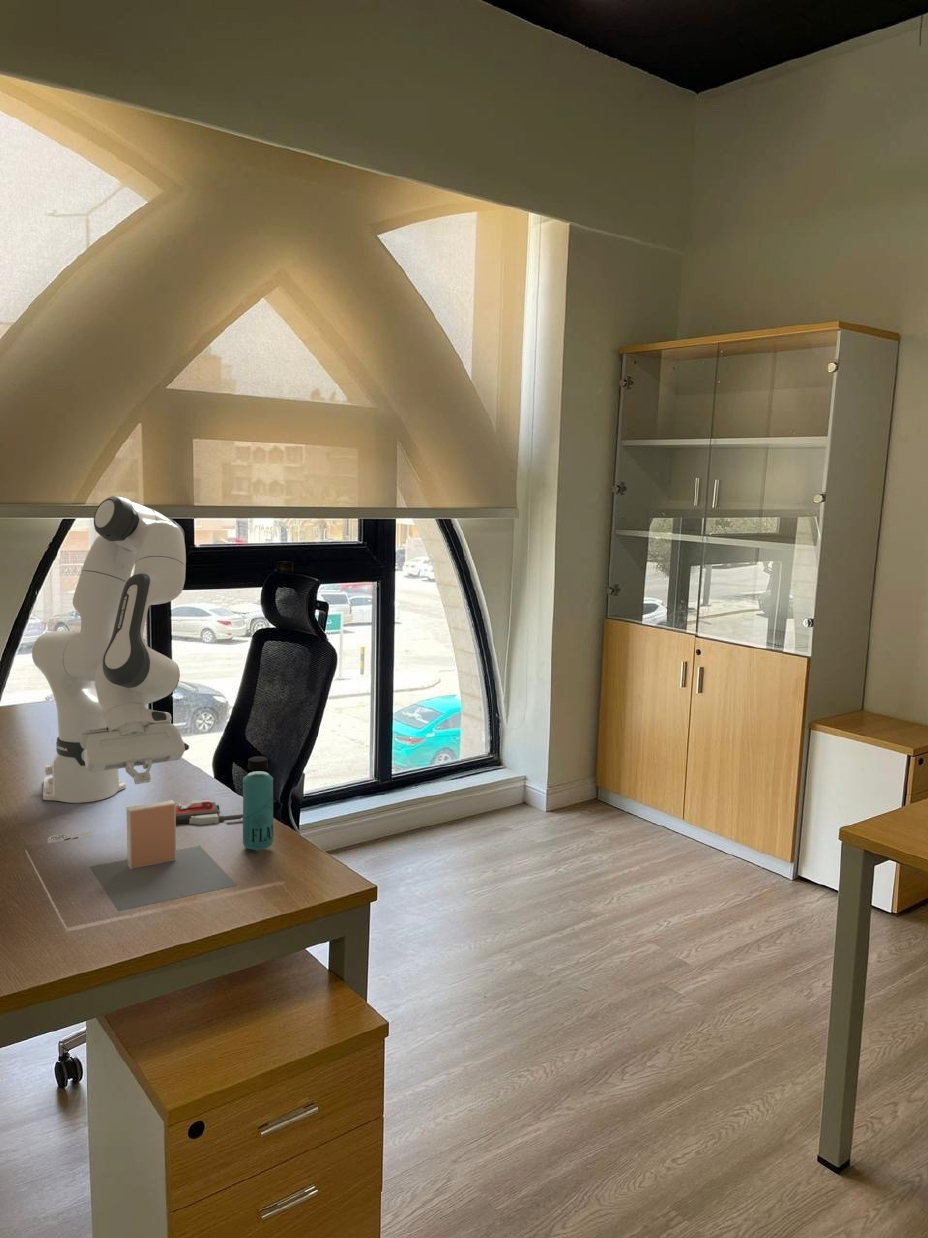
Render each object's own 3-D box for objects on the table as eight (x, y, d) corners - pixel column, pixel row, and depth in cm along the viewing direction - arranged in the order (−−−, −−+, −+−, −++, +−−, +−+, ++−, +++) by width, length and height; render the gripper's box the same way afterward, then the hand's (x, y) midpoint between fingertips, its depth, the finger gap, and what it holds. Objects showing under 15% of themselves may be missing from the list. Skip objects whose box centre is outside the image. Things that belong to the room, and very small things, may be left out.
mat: (89, 868, 190) (89, 866, 190) (199, 848, 202) (199, 845, 202) (118, 913, 172) (118, 911, 172) (237, 887, 184) (237, 885, 184)
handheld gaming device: (92, 830, 209) (93, 857, 195) (92, 833, 209) (93, 860, 195) (47, 834, 206) (45, 862, 192) (47, 838, 206) (45, 865, 192)
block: (127, 865, 191) (126, 807, 190) (173, 856, 196) (172, 800, 194) (130, 869, 190) (129, 811, 188) (176, 860, 194) (175, 803, 193)
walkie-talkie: (162, 832, 211) (254, 822, 219) (161, 813, 210) (254, 804, 218) (157, 819, 219) (247, 809, 227) (157, 800, 218) (247, 791, 226)
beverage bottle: (248, 859, 198) (248, 764, 195) (237, 847, 203) (237, 755, 200) (278, 853, 201) (279, 760, 198) (267, 842, 207) (267, 751, 204)
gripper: (80, 723, 199) (94, 782, 193) (177, 712, 211) (194, 767, 205) (74, 739, 203) (88, 797, 197) (170, 727, 216) (186, 782, 209)
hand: (143, 782), depth 201 cm, fingers closed
